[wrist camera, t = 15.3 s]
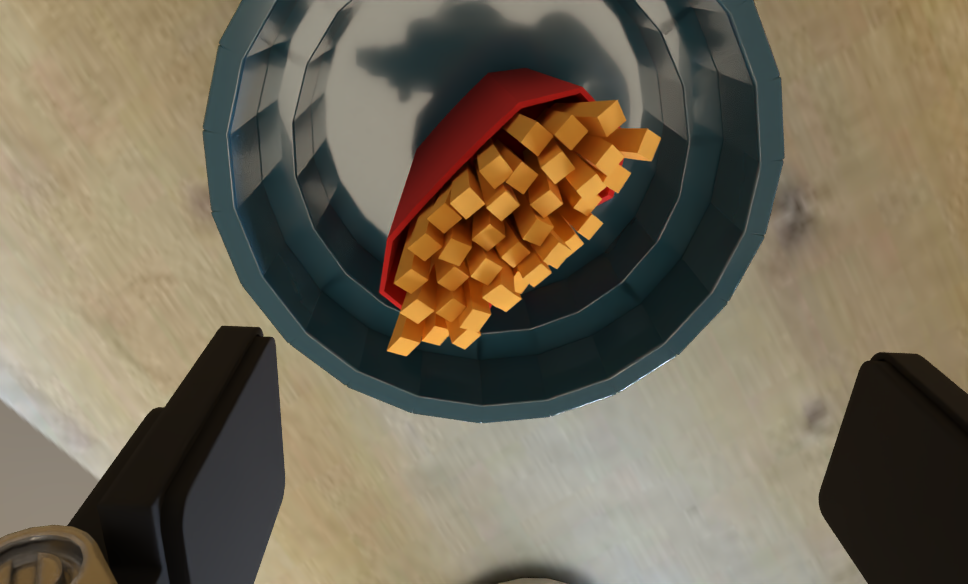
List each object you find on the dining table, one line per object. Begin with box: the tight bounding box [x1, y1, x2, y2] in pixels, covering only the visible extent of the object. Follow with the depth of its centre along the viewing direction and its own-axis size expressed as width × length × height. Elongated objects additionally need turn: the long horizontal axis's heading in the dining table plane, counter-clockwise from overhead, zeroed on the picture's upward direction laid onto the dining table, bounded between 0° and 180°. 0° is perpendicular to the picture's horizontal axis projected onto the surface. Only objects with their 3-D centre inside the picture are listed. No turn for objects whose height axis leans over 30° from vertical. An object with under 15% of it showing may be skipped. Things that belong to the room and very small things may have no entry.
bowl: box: [203, 0, 784, 423], centre depth 25 cm, size 18×18×7 cm
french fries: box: [379, 68, 661, 356], centre depth 22 cm, size 8×4×12 cm, turn 136°
